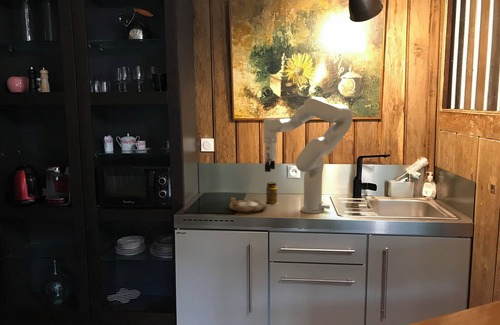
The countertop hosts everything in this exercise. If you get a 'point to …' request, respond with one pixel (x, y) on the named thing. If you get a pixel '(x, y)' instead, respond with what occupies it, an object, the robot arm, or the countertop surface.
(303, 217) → the countertop surface
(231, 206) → the brown round disc
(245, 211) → the base
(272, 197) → the condiment
